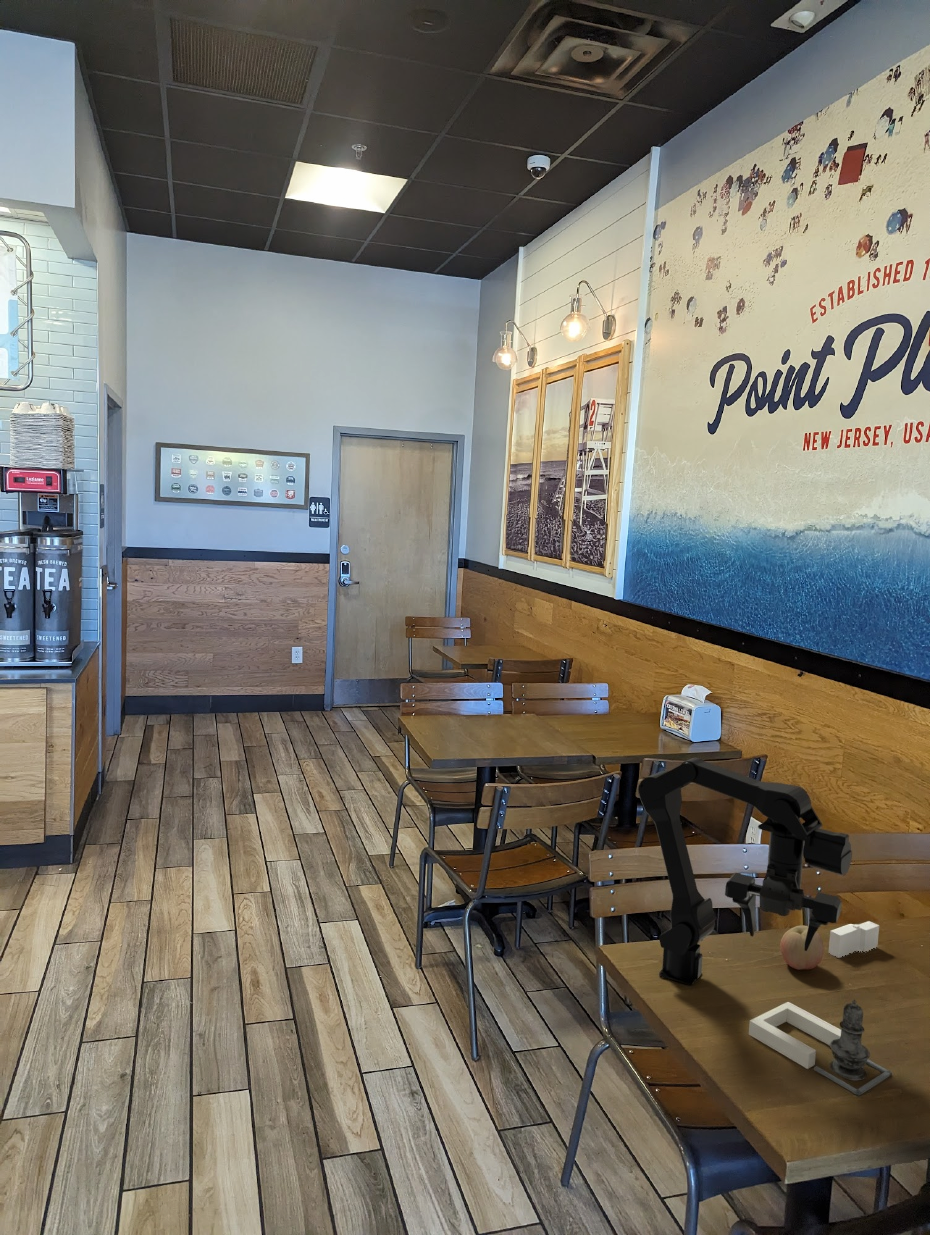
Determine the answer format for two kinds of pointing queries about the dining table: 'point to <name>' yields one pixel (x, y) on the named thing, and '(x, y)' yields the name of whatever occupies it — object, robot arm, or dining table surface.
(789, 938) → the fruit
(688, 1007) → the dining table surface
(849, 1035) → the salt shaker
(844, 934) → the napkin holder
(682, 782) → the robot arm
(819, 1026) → the u-shaped bracket
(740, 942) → the dining table surface
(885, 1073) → the frame
